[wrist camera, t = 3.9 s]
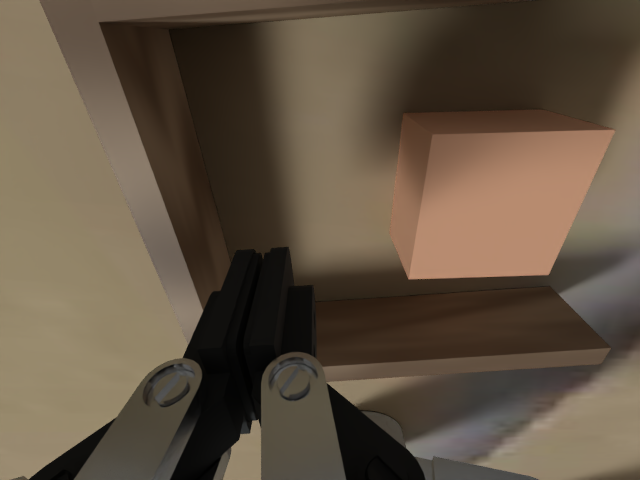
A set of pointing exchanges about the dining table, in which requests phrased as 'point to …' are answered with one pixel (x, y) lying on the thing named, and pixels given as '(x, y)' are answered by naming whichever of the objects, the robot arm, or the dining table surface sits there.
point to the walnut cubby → (203, 222)
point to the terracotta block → (490, 190)
